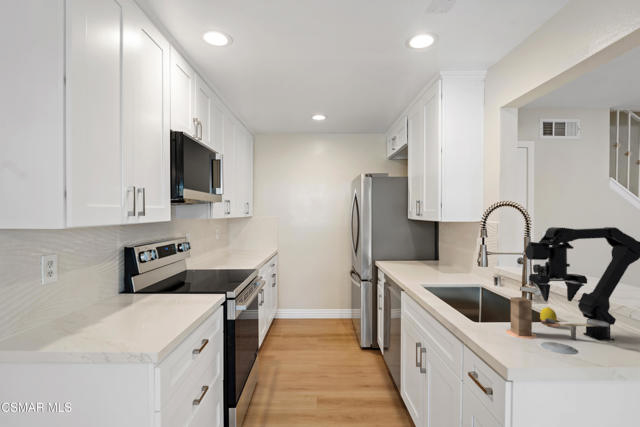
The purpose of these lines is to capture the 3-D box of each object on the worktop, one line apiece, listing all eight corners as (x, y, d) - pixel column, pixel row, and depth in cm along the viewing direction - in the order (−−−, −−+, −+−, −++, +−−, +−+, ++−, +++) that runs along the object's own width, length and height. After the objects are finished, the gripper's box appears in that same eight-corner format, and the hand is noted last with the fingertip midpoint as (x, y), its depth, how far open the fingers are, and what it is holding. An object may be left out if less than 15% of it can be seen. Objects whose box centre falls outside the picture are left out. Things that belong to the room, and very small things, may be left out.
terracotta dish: (525, 332, 123) (525, 328, 123) (544, 342, 113) (544, 338, 113) (500, 332, 123) (500, 329, 123) (516, 342, 113) (516, 338, 113)
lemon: (559, 329, 126) (559, 309, 127) (544, 328, 128) (544, 308, 128) (552, 324, 132) (552, 305, 132) (537, 323, 133) (537, 304, 133)
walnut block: (523, 331, 121) (523, 297, 121) (531, 336, 116) (531, 300, 116) (510, 331, 121) (510, 297, 121) (518, 336, 116) (518, 300, 116)
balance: (607, 346, 109) (607, 321, 110) (610, 352, 105) (610, 326, 105) (541, 334, 121) (541, 311, 121) (540, 339, 116) (540, 315, 116)
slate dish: (561, 345, 110) (561, 341, 110) (586, 357, 100) (586, 354, 100) (533, 345, 110) (533, 342, 110) (556, 358, 100) (556, 354, 100)
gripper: (564, 257, 128) (564, 296, 128) (519, 257, 128) (519, 296, 128) (588, 261, 117) (588, 303, 117) (539, 261, 117) (539, 303, 116)
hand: (557, 301), depth 120 cm, fingers open, 9 cm apart
